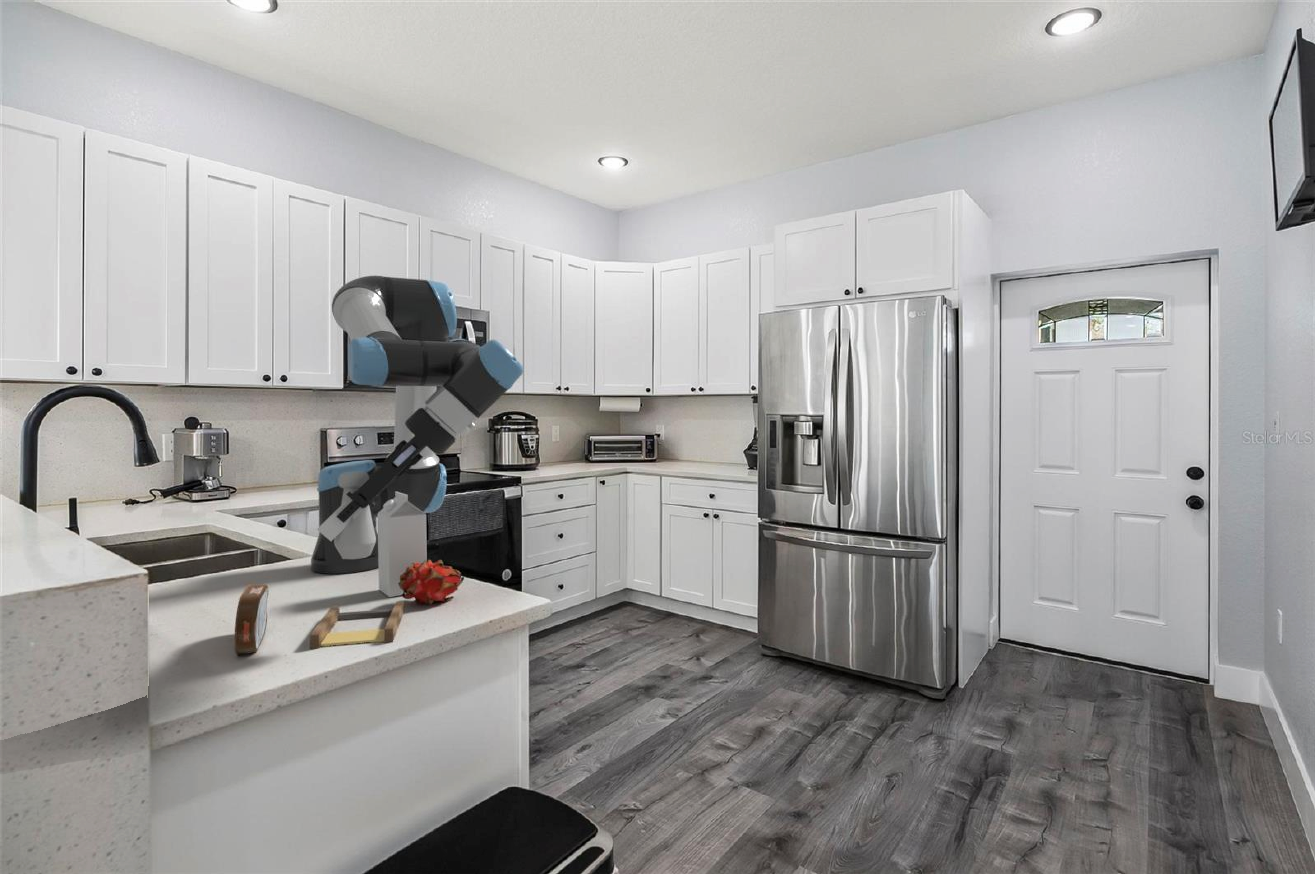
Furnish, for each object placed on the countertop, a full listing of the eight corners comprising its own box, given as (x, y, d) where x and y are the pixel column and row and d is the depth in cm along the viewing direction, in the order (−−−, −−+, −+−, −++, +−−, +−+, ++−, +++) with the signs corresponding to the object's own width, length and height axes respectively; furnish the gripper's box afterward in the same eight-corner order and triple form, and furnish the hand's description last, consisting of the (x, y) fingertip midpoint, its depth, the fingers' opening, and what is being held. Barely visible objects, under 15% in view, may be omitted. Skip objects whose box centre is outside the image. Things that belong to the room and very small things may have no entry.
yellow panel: (327, 635, 104) (327, 633, 104) (388, 630, 106) (388, 628, 106) (320, 646, 99) (320, 644, 99) (384, 641, 101) (384, 638, 101)
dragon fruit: (392, 615, 120) (458, 613, 126) (405, 596, 114) (474, 595, 121) (391, 571, 124) (455, 572, 131) (403, 550, 118) (470, 552, 125)
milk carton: (415, 584, 135) (414, 490, 134) (427, 591, 129) (425, 493, 128) (378, 590, 130) (376, 492, 130) (389, 598, 125) (387, 496, 124)
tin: (249, 630, 107) (247, 578, 106) (271, 628, 108) (270, 576, 108) (232, 663, 93) (230, 603, 93) (258, 660, 94) (257, 600, 94)
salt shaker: (360, 561, 99) (358, 473, 99) (326, 560, 100) (324, 473, 100) (383, 553, 105) (382, 470, 104) (351, 552, 106) (349, 470, 106)
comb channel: (331, 618, 113) (331, 606, 113) (403, 612, 116) (403, 601, 116) (310, 648, 98) (309, 635, 98) (393, 641, 101) (392, 628, 101)
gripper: (456, 440, 98) (335, 560, 94) (459, 437, 114) (355, 539, 110) (417, 404, 97) (293, 524, 93) (425, 405, 112) (319, 509, 108)
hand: (327, 532), depth 101 cm, fingers closed on salt shaker, 3 cm apart
